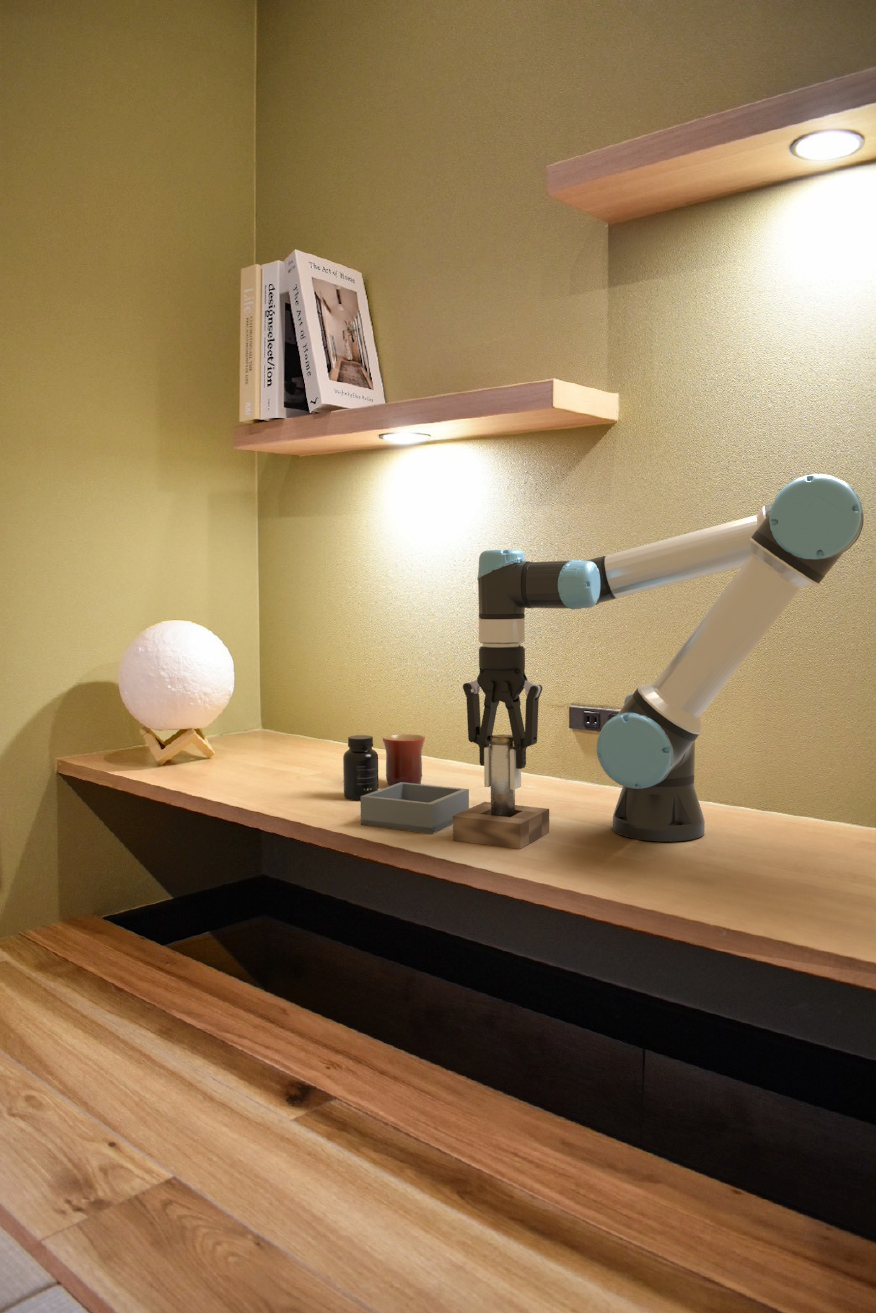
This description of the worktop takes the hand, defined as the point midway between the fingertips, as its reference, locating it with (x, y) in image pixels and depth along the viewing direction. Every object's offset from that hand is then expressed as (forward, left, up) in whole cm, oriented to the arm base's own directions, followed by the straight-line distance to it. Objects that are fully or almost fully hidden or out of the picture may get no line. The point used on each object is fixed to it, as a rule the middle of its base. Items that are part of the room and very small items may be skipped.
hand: (502, 786), depth 167 cm
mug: (+36, -29, -9) cm, 47 cm away
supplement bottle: (+37, -15, -9) cm, 41 cm away
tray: (+18, -3, -8) cm, 20 cm away
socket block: (0, 0, -8) cm, 8 cm away
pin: (0, 0, -6) cm, 6 cm away
